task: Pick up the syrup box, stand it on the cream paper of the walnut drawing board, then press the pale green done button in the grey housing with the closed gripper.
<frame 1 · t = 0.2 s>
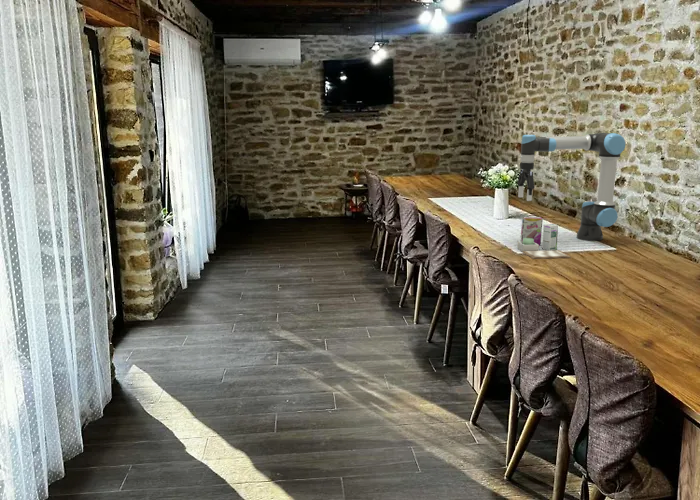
hand: (524, 199, 353), 27 cm above the table, fingers open, 13 cm apart
button housing: (527, 250, 347), on the table
done button: (528, 242, 346), point 4 cm above the table, slide at 0.0 cm
drawing board: (546, 255, 335), on the table
syrup box: (549, 249, 349), on the table
candy bar box: (530, 244, 361), on the table
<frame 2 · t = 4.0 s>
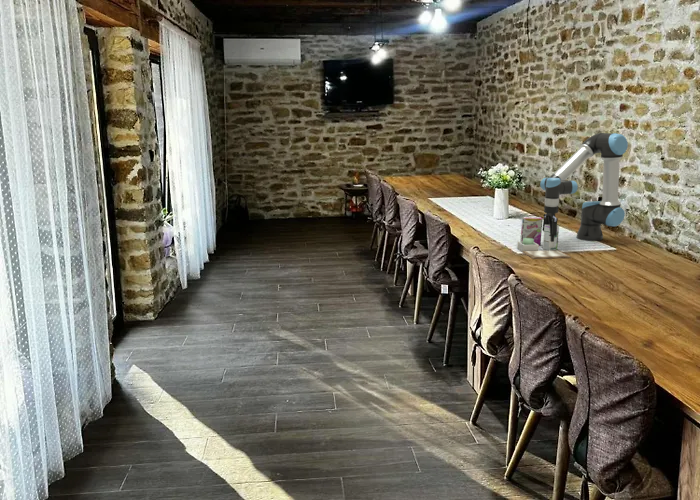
hand: (548, 245, 347), 3 cm above the table, fingers closed on syrup box, 7 cm apart
syrup box: (549, 249, 348), on the table, touching gripper
everything else where it was.
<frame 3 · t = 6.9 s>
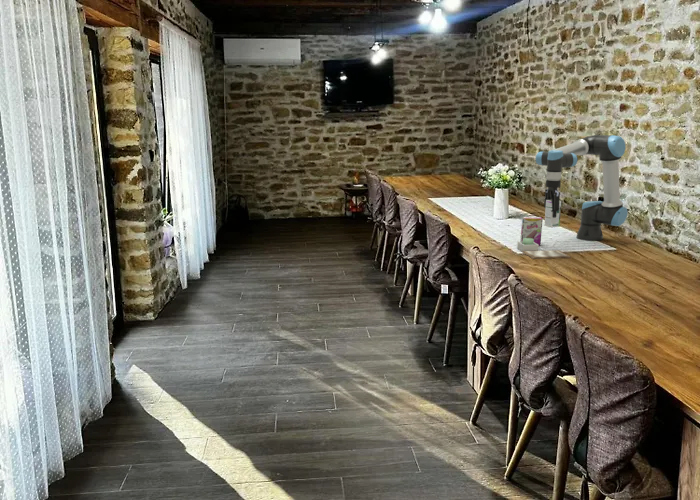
hand: (550, 222, 330), 19 cm above the table, fingers closed on syrup box, 7 cm apart
syrup box: (551, 226, 331), point 16 cm above the table, touching gripper
everything else where it was.
when the fingers open (4 cm above the table, at t = 9.7 s): syrup box stays where it is, resting on drawing board.
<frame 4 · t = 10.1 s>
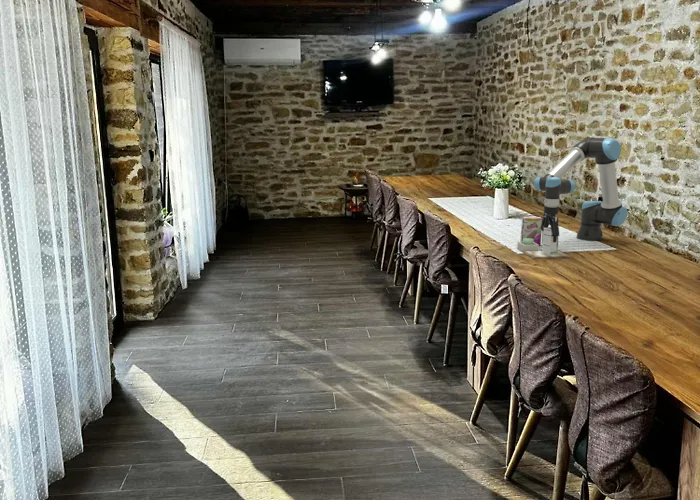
hand: (548, 245, 333), 6 cm above the table, fingers open, 12 cm apart
syrup box: (549, 254, 334), point 1 cm above the table, touching drawing board
everything else where it was.
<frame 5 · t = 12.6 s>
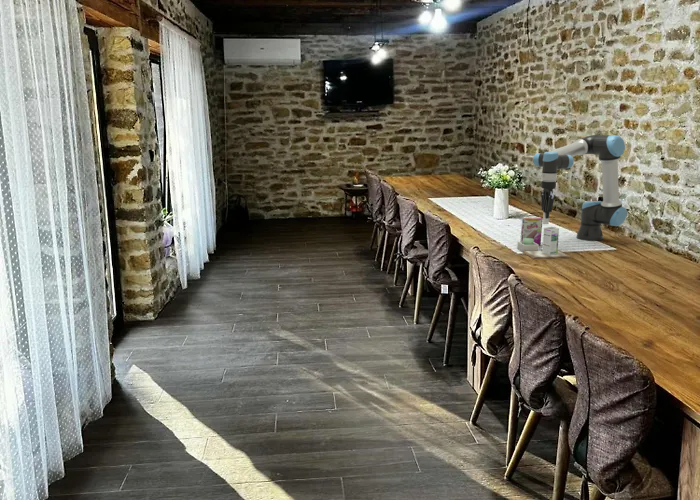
hand: (545, 223, 333), 17 cm above the table, fingers closed
nothing on the table moved.
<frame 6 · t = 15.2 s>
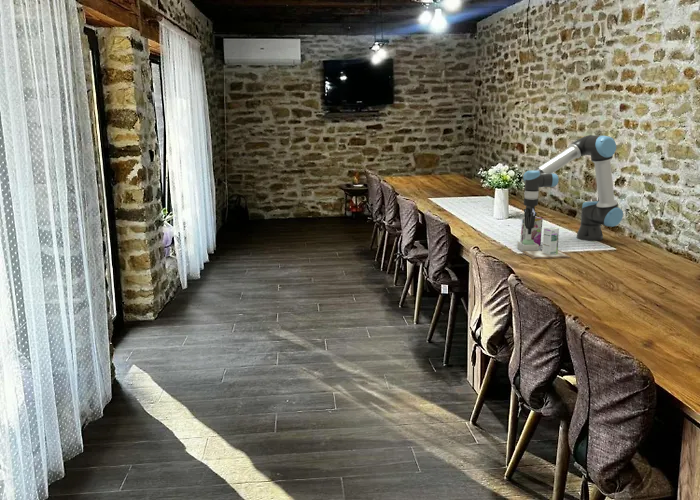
hand: (528, 239, 346), 6 cm above the table, fingers closed
done button: (528, 243, 346), point 4 cm above the table, slide at 0.6 cm, touching gripper
everything else where it was.
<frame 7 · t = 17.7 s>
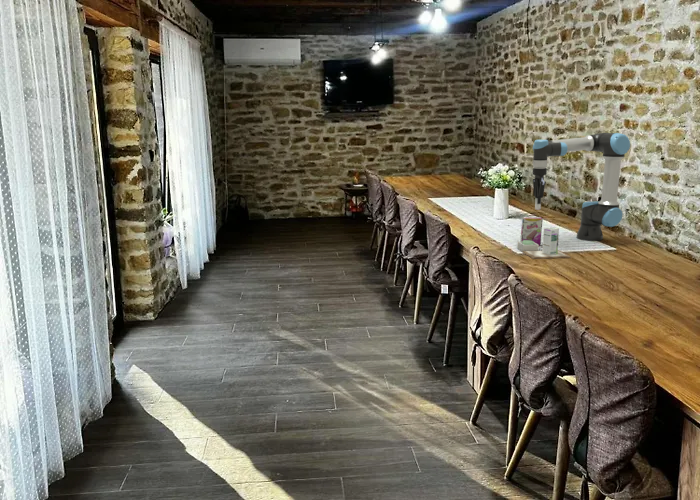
hand: (537, 209, 346), 23 cm above the table, fingers closed
done button: (527, 244, 346), point 3 cm above the table, slide at 1.3 cm
everything else where it was.
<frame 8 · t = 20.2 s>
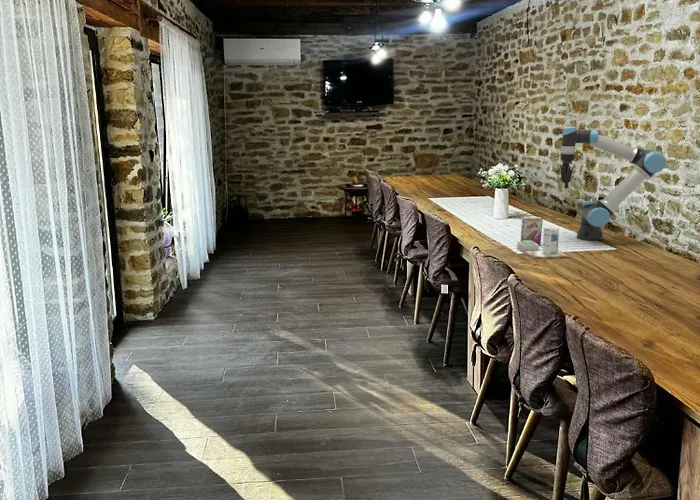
hand: (564, 193, 361), 29 cm above the table, fingers closed
nothing on the table moved.
at the end: syrup box inside the target area on the drawing board (1.8 cm from its centre), point 0.8 cm above the drawing board's base; syrup box tilted 0°; done button slide at 1.3 cm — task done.
